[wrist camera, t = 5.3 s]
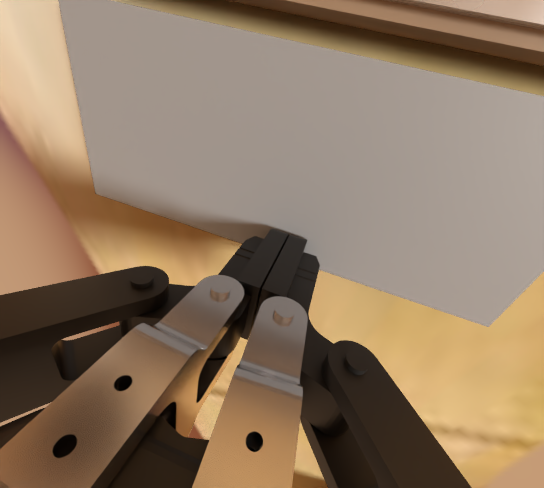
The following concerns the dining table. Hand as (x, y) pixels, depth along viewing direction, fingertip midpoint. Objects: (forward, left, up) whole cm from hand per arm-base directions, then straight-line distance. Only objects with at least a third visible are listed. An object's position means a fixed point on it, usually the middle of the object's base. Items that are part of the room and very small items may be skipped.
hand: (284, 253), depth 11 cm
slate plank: (-3, -1, -2) cm, 4 cm away
